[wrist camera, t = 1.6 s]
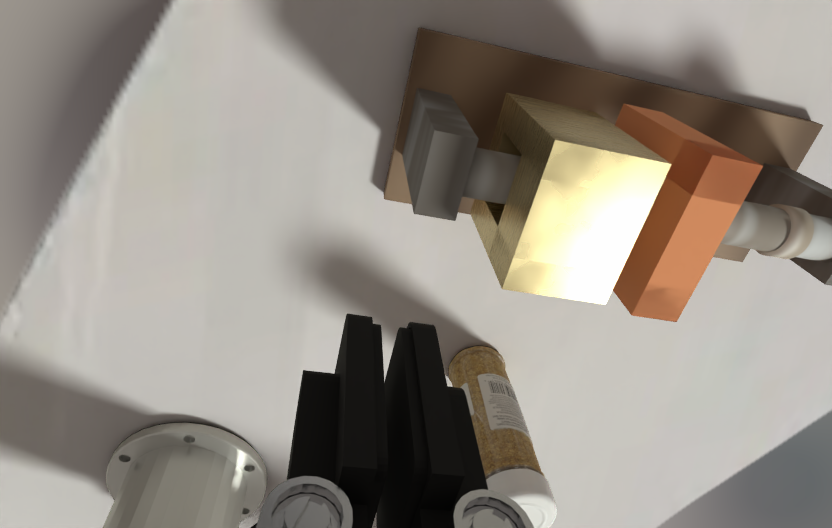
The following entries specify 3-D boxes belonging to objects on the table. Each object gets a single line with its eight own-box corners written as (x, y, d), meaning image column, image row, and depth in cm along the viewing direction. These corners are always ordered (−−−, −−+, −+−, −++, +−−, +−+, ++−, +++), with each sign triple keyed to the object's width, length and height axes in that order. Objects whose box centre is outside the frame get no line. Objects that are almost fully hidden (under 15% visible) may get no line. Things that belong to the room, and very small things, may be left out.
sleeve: (551, 227, 32) (605, 304, 25) (470, 212, 31) (502, 288, 24) (595, 112, 28) (671, 164, 21) (506, 92, 27) (555, 139, 21)
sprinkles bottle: (435, 366, 42) (464, 523, 31) (482, 333, 41) (530, 484, 29) (471, 397, 44) (510, 555, 33) (516, 366, 43) (573, 520, 31)
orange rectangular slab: (606, 239, 34) (676, 321, 26) (570, 233, 33) (631, 315, 26) (662, 112, 30) (763, 165, 22) (623, 103, 29) (712, 155, 22)
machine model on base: (811, 120, 35) (949, 172, 27) (734, 255, 39) (830, 333, 31) (418, 27, 30) (440, 55, 22) (383, 193, 35) (390, 267, 27)
